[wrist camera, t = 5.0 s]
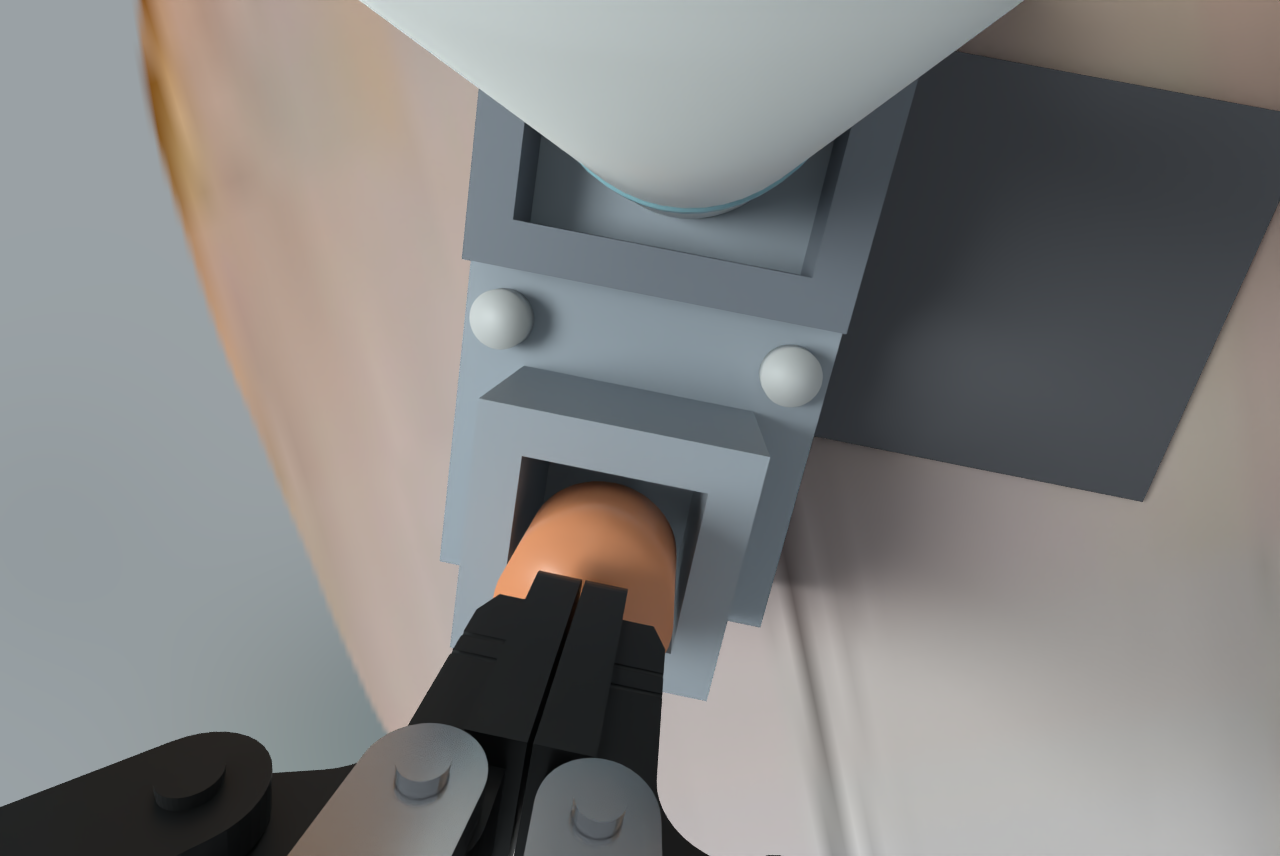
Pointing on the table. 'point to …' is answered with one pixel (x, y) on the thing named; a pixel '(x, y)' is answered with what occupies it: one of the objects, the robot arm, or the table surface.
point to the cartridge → (691, 79)
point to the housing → (652, 361)
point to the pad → (1050, 272)
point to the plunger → (602, 549)
